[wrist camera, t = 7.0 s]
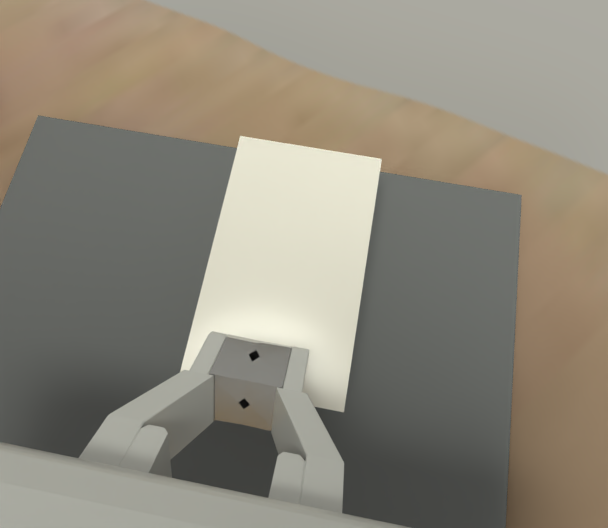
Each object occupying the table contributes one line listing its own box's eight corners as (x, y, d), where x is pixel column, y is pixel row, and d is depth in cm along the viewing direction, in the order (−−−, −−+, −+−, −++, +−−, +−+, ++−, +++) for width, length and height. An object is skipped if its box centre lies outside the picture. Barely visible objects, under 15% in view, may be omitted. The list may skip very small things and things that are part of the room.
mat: (-109, 508, 15) (-125, 514, 15) (46, 122, 20) (38, 115, 19) (491, 641, 14) (499, 654, 13) (514, 200, 18) (521, 195, 18)
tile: (177, 380, 13) (240, 136, 16) (196, 376, 16) (248, 164, 18) (343, 412, 13) (381, 159, 16) (338, 404, 16) (371, 184, 18)
